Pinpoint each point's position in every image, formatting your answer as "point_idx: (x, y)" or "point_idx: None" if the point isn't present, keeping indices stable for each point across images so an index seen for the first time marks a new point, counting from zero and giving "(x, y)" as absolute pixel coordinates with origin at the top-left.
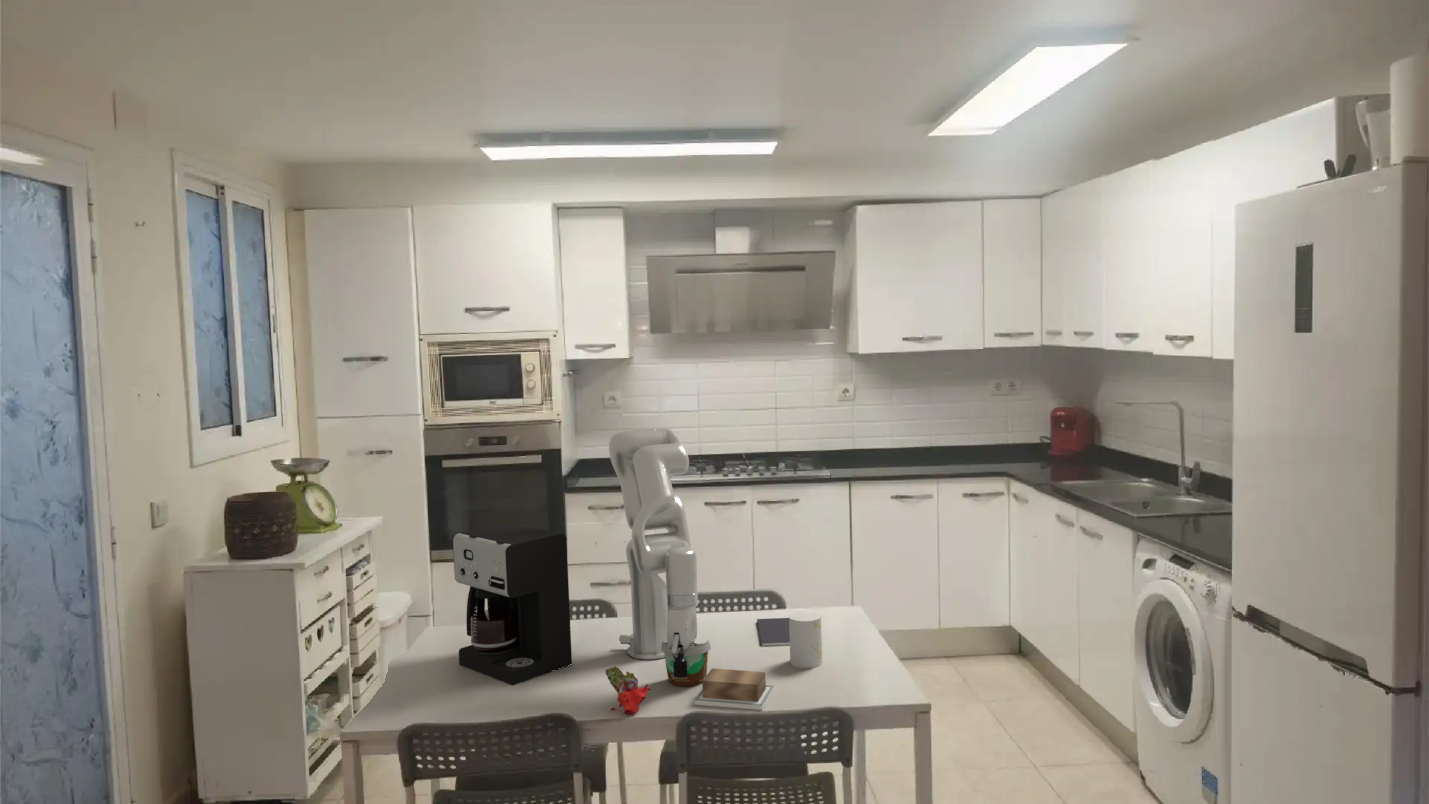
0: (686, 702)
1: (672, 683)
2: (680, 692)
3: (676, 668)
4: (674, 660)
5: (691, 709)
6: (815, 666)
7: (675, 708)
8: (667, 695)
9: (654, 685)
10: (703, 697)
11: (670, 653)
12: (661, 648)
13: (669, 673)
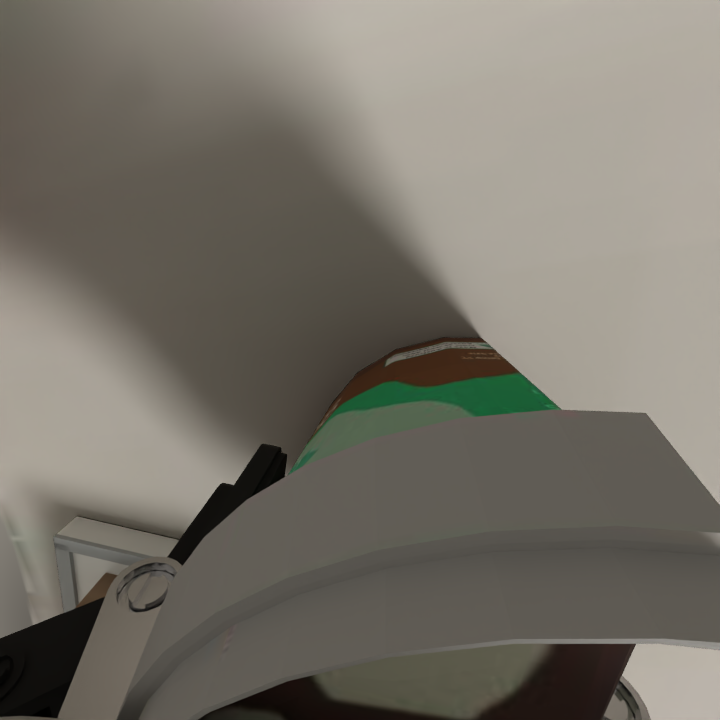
0: (95, 478)
1: (349, 383)
2: (230, 438)
3: (196, 521)
4: (125, 585)
5: (20, 505)
6: None
7: (3, 429)
8: (169, 365)
9: (340, 242)
10: (104, 575)
11: (164, 604)
12: (455, 439)
13: (355, 392)
